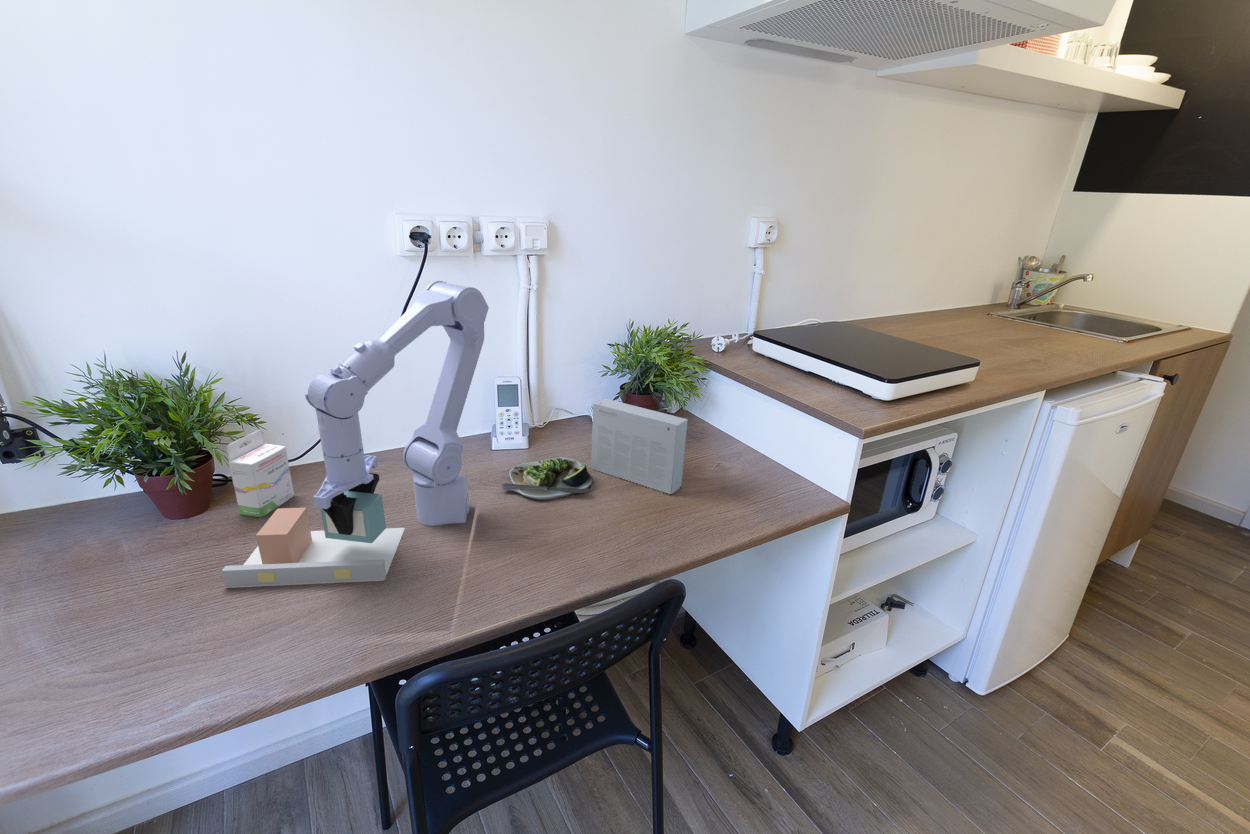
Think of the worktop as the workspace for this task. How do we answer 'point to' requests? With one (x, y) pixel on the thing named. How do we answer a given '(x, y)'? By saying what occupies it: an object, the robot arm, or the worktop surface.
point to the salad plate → (550, 478)
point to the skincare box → (638, 444)
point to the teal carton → (360, 519)
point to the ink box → (259, 475)
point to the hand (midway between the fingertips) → (354, 524)
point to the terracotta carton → (284, 536)
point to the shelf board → (321, 563)
